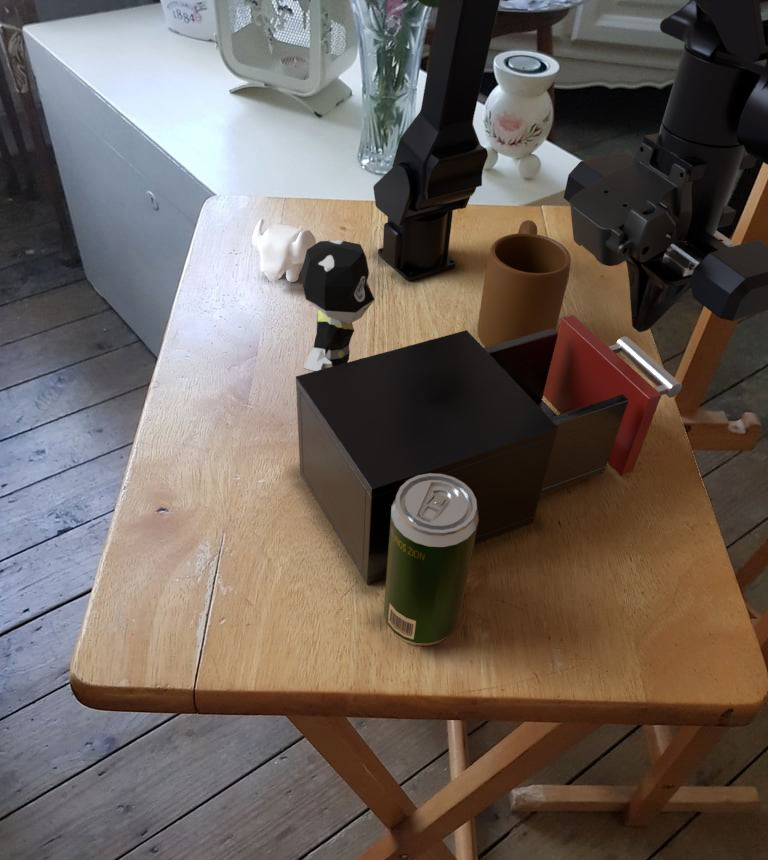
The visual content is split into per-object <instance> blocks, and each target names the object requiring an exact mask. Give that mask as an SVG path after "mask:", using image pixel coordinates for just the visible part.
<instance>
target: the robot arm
mask: <svg viewBox="0 0 768 860" xmlns="http://www.w3.org/2000/svg"><path fill="white" fill-rule="evenodd" d="M500 2H501V0H438V6H437V12H436V19H435V25H434V30H433V35H432V40H431V41H432V43H431V47H430V48H431V49H430V53H429V58H428V59H429V60H428V66H427V71H426V76H425V77H426V78H425V83H424V84H425V85H424V89H423V95H422V102H421V106H420V111H419V112H418V114H417V115H416V117H415V118H414V119H413V121H411V123H410V124H409V126H408V127H407V128H406V129H405V131H404V132H403V134H402V135H401V136H400V137H399V140H398V143H397V148H396V151H395V155H394V158H393V161H392V167H391V168H390V169H389V170H388V171H387V172H386V173H385V174H384V175H383V176H381V178H379V180H378V181H377V182H376V183H374V185H373V195H374V203H375V207H376V209H378V210H379V211H380V212H381V213H383V214H384V216H386V217H387V221H386V222H385V223H384V225H383V235H382V236H383V238H382V247H381V248H378V249H377V255H378V257H380V258H381V259H382V260H383V261H385V262H386V263H387V264H388V266H390V267H391V268H392V269H394V271H396V272H397V274H399V275H400V276H401V277H402V278H403V279H404V280H406V281H414V280H418V279H421V278H424V277H427V276H431V275H434V274H437V273H440V272H443V271H447V270H450V269H453V268H455V267H456V266H457V261H456V260H455V259H454V258H453V257H451V256H450V255H449V249H450V240H451V231H452V225H453V224H452V222H453V213H454V211H457V210H463V209H466V208H467V206H468V204H469V201H470V199H471V197H472V196H473V195H474V193H475V192H476V190H477V188H478V187H482V186H483V171H484V168H485V165H486V162H487V160H488V157H489V152H488V149H487V148H486V147H485V146H483V145H481V142H480V140H479V137H478V135H477V132H476V129H475V126H474V117H475V113H476V110H477V109H476V108H477V104H478V100H479V95H480V91H481V87H482V82H483V77H484V73H485V68H486V65H487V60H488V56H489V51H490V47H491V43H492V38H493V34H494V28H495V26H496V25H495V24H496V20H497V16H498V13H499V12H498V11H499V7H500ZM763 12H768V0H688V2H687V3H686V4H685V5H683V6H682V7H681V8H680V9H678V10H676V12H673V13H671V14H670V15H669V16H667V17H665V18H663V19H662V20H661V22H660V24H659V30H660V32H661V33H663V34H665V35H667V36H669V37H672V38H674V39H675V40H678V41H681V42H682V43H684V44H683V48H682V52H681V56H680V59H679V62H678V65H677V68H676V69H677V70H676V73H675V77H674V80H673V83H672V87H671V90H670V93H669V96H668V101H667V104H666V107H665V111H664V113H663V117H662V120H661V124H660V128H659V131H658V133H652V134H647V135H644V136H643V139H642V142H641V143H639V144H638V146H637V149H636V153H635V156H633V155H632V154H630V153H628V152H627V151H624V152H620V153H615V154H609V155H606V156H601V157H600V156H599V157H595V158H591V159H585V160H581V161H579V162H578V163H577V165H575V167H574V168H573V169H571V171H570V172H569V174H568V175H567V179H566V185H565V189H564V194H563V199H564V200H565V201H566V202H568V204H569V207H570V216H571V227H572V237H573V241H574V243H575V244H576V245H578V246H579V247H583V248H584V249H585V250H586V251H588V252H589V253H590V254H591V255H593V256H594V258H595V259H596V261H597V262H599V263H600V264H601V265H603V266H606V267H615V266H619V265H620V264H622V263H624V262H626V268H627V275H628V284H629V285H628V286H629V300H630V313H631V316H630V317H631V327H632V328H633V329H634V330H635V331H636V332H637V333H643V332H646V331H648V330H650V329H651V328H652V327H653V326H654V325H655V324H656V323H657V322H658V321H659V320H660V319H661V318H662V317H663V316H664V315H665V314H666V313H667V312H668V311H669V310H670V309H671V308H672V307H673V306H674V305H675V304H676V303H677V302H678V301H679V300H680V299H681V298H683V296H684V295H685V294H686V293H687V292H688V291H689V290H690V289H691V294H692V297H693V299H695V300H696V301H697V302H698V303H700V304H701V305H702V306H703V307H705V308H706V309H707V310H708V311H710V312H711V313H712V314H714V315H715V316H716V317H718V318H719V319H722V320H727V321H731V322H733V321H737V320H740V319H743V318H747V317H749V316H753V315H756V314H759V313H763V312H766V311H768V245H767V244H766V243H765V242H763V241H762V240H760V239H756V240H752V241H749V242H744V243H741V244H737V245H734V241H733V240H731V239H730V238H728V237H727V236H725V235H724V234H723V233H721V232H720V231H718V230H717V229H720V228H723V227H728V226H731V225H732V224H733V221H734V218H735V217H736V214H737V210H736V209H734V208H732V207H731V206H729V205H728V201H729V199H730V196H731V193H732V191H733V189H734V185H735V183H736V180H737V178H738V175H739V171H743V170H746V169H751V168H755V164H756V161H757V160H758V161H760V162H762V163H764V164H766V165H767V166H768V19H764V20H763V19H762V13H763ZM733 245H734V246H733Z"/></svg>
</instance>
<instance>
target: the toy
mask: <svg viewBox="0 0 768 860" xmlns="http://www.w3.org/2000/svg"><path fill="white" fill-rule="evenodd" d="M369 275H370V272H369V265H368V260H367V256H366V253H365V251H364V249H363V246H362V245H361V244H360V243H355V242H351V241H347V240H341V239H337V240H320V241H318V242H316V244H315V245H313V246H312V247H310V248H309V249H307V252H306V256H305V260H304V264H303V267H302V270H301V272H300V276H301V281H302V282H301V283H302V288H303V292H304V293H303V294H304V298H305V300H306V301H307V302H309V303H310V304H311V305H312V306H314V307H315V308H316V309H317V313H316V314H317V316H316V334H315V338H314V343H313V347H312V348H311V350H310V351H309V353H308V355H307V358H306V360H305V362H304V364H303V367H302V369H303V370H306V371H310V372H314V371H318V370H322V369H325V368H329V367H333V366H336V365H340V364H344V363H347V362H349V360H350V353H351V352H350V343H351V340H352V337H353V334H354V332H355V328H354V324H353V323H354V322H356V321H358V320H360V319H362V318H363V316H364V315H365V313H366V312H367V311H368V310H369V308H370V307H371V305H372V304H373V303H374V301H375V297H374V294H373V292H372V291H371V288H370V285H369V284H368V279H369Z"/></svg>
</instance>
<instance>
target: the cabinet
mask: <svg viewBox="0 0 768 860" xmlns="http://www.w3.org/2000/svg"><path fill="white" fill-rule="evenodd" d="M484 348H485V347H483V346H482V345H481V344H480V342H479V341H477V340H476V338H475V337H474V336H473V335H472V334H471V332H469V331H468V330H467V329H466V330H462V331H458V332H455V333H451V334H447V335H444V336H440V337H439V336H438V337H436V338H433V339H429V340H425V341H422V342H417V343H414V344H411V345H407V346H406V345H405V346H403V347H400V348H395V349H392V350H388V351H384V352H381V353H377V354H373V355H370V356H366V357H361V358H358V359H355V360H351V361H348V362H347V363H344V364H340V365H336V366H333V367H329V368H325V369H322V370H318V371H310V372H307V373H304V374H298V375H296V376H295V389H296V391H295V392H296V411H297V413H296V414H297V415H296V416H297V431H298V432H297V434H298V435H297V437H298V451H299V452H298V457H299V474H300V476H301V478H302V479H303V481H304V483H305V485H306V486H307V488H308V490H309V492H310V493H311V495H312V496H313V498H314V499H315V501H316V503H317V505H318V506H319V508H320V509H321V511H322V513H323V514H324V516H325V518H326V519H327V521H328V523H329V524H330V526H331V528H332V529H333V531H334V533H335V534H336V536H337V537H338V540H339V541H340V543H341V544H342V546H343V547H344V549H345V551H346V552H347V554H348V556H349V558H350V559H351V561H352V563H353V564H354V565H355V567H356V569H357V571H358V572H359V574H360V575H361V577H362V579H363V581H364V583H365V585H367V586H368V585H371V584H373V583H377V582H378V581H381V580H384V579H386V572H387V559H388V546H389V533H390V520H391V506H392V504H393V502H394V500H395V498H396V495H397V493H398V491H399V489H400V487H401V486H402V485H403V484H404V483H405V482H406V481H407V480H409V479H411V478H413V477H416V476H418V475H423V474H429V473H433V474H444V475H447V476H451V477H454V478H456V479H458V480H460V481H461V482H463V483H465V484H466V485H467V486H468V487H469V488H470V489H471V490H472V492H473V494H474V496H475V498H476V502H477V510H478V519H479V521H478V526H477V531H476V537H475V542H474V546H475V545H477V544H480V543H482V542H486V541H488V540H490V539H493V538H496V537H499V536H501V535H505V534H506V533H509V532H512V531H515V530H517V529H520V528H523V527H525V526H528V525H531V524H533V523H534V520H535V517H536V512H537V509H538V505H539V502H540V498H541V496H540V494H541V490H542V486H543V483H544V479H545V475H546V472H547V468H548V464H549V460H550V457H551V453H552V449H553V446H554V442H555V438H556V434H557V431H558V426H557V425H556V424H555V423H554V422H553V421H552V420H551V419H550V418H549V417H548V416H547V415H546V414H545V413H544V412H543V411H542V409H541V408H540V407H539V406H538V405H537V404H536V403H535V402H534V401H533V400H532V399H531V398H530V397H529V396H528V395H527V394H526V392H525V391H524V390H523V389H522V388H521V387H520V386H519V385H518V384H517V383H516V382H515V381H514V380H513V379H512V378H511V377H510V376H509V374H508V373H507V372H506V371H505V370H504V369H503V368H502V367H501V366H500V365H499V364H498V363H497V362H496V361H495V360H494V359H493V357H492V356H491V355H490V354H489V353H488V352H487V351H486V350H485V349H484Z"/></svg>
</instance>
